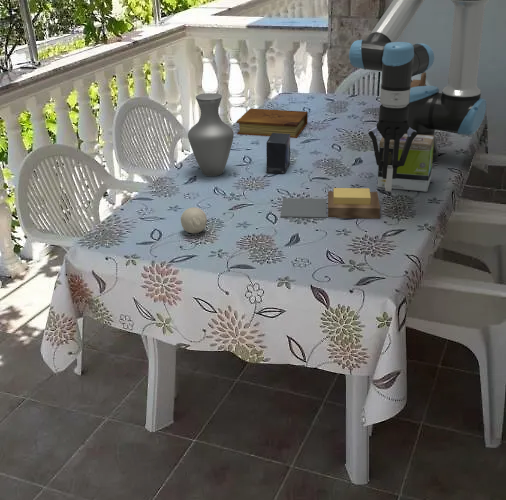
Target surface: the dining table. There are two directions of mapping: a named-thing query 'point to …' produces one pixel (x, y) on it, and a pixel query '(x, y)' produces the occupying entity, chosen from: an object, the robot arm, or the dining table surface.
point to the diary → (272, 122)
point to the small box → (278, 153)
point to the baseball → (193, 220)
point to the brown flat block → (354, 208)
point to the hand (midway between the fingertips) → (388, 189)
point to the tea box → (410, 164)
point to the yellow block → (352, 196)
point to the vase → (210, 136)
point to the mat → (303, 208)
